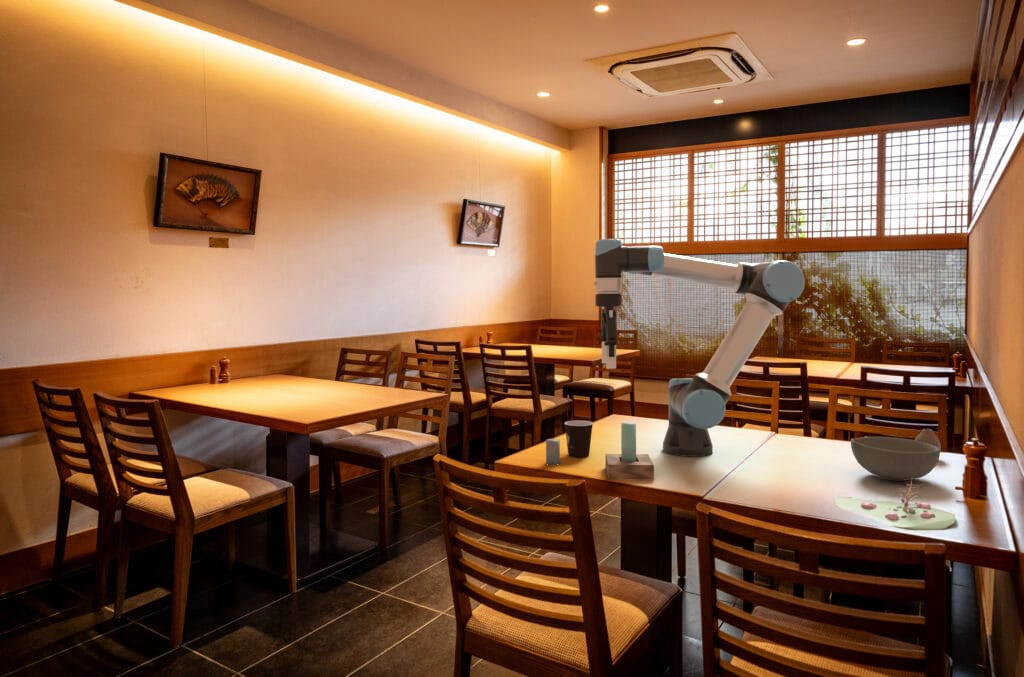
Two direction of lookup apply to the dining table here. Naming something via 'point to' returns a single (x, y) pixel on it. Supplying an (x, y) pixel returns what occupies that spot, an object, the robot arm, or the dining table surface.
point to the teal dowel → (628, 442)
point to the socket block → (629, 467)
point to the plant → (901, 512)
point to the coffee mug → (578, 438)
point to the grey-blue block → (552, 451)
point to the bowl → (895, 457)
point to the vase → (928, 438)
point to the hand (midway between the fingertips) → (608, 366)
